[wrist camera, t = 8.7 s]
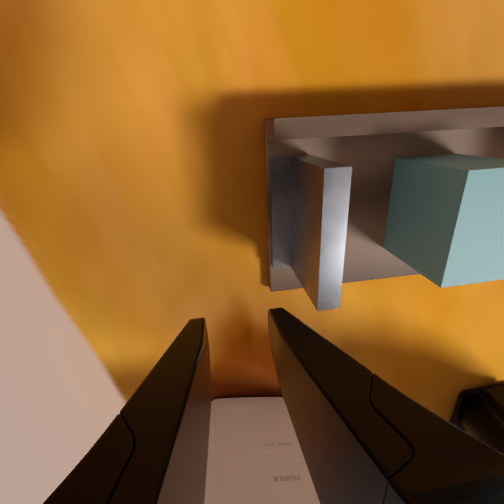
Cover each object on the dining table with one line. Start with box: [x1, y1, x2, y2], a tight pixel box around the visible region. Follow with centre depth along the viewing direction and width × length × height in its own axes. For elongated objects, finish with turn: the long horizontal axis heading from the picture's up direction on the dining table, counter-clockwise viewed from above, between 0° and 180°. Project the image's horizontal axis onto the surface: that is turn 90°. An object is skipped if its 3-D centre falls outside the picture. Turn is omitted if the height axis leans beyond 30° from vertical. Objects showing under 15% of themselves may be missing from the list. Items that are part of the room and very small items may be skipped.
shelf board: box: [264, 106, 504, 292], centre depth 17 cm, size 11×24×6 cm, turn 93°
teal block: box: [383, 153, 504, 288], centre depth 17 cm, size 6×4×6 cm, turn 3°
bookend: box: [270, 155, 352, 311], centre depth 16 cm, size 7×2×5 cm, turn 3°
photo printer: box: [204, 397, 320, 504], centre depth 20 cm, size 10×4×12 cm, turn 80°
